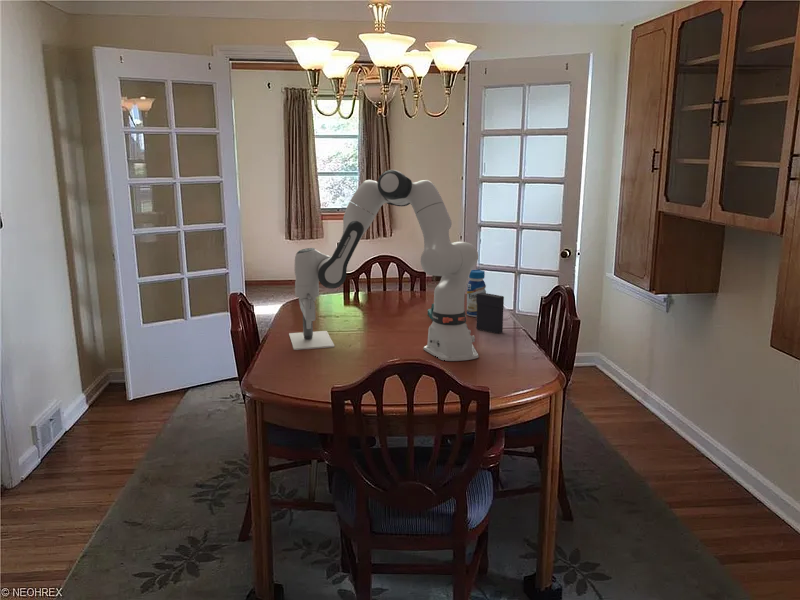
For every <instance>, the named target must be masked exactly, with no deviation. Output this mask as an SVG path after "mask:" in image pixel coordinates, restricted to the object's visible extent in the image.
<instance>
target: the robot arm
mask: <svg viewBox="0 0 800 600" xmlns="http://www.w3.org/2000/svg"><path fill="white" fill-rule="evenodd" d="M384 204H387V205H391V206H396V207H407V206H409V205H411V207H412V208H413V213H414V214H415V217H416V219H417V221H418V225H419V227H420V230H421V232H422V236H423V244H424V245H423V252H422V253H421V255H420V266H421V269H422V270H423V272H424V273H426V274H427V275H429V276H434V277H441V278H440V280H439V282H438V284H436V286H435V288H434V291H433V295H434V296H433V304H434V310H433V314H432V320H433V321H432V320H431V321H432V323H431V324H430V325H429V327H428V331H427V333H428V334H427V344H426V345H424V346H423V351H425V352H427V353H428V354H430V355H432V356H434V357H435V356H436V357H435V358H437V357H438V358H437V359H439V360H441V361H444V360H445V361H446V362H459V361H469V360H476V359H478V358H480V357H479V353H478V351H477V350H476V348H475V346H474V345H473V343H475V341H476V337H475V335H471V333H472V331H471V329H469V327H468V324H467V323H466V322H467V313H466V310H465V299H466V298H465V297H466V290H467V289H466V288H467V285H468V282H469V279H470V278H469V275H470V272H471V270H473V269H474V267H475V265H477V263H478V260H479V252H478V250H477V248H476V246H475V245H474V244H473V243H470V242H467V241H455V242H452V241H451V240H450V229H451V227H452V219H451V217H450V215H449V212H448V209H447V208H446V205H445V202H444V200H443V198H442V196H441V194H440V192H439V191H438V189H437V187H436V186H435V184H434V183H433V182H432V181H430V180H429V179H423V180H418V181H415V182H412V180H411V179H410V178H409V177H408V176H407V175H405V174H404V173H402V172H401V171H400V170H397V169H389V170H386V171H384V172H382V173H381V175H379V178H378V180H377V181H376V180H372V179H366V180H363V182H362V183H361V184H360V185H359V186H358V188H357V189H356V191H355V192H354V193H353V195H352V197H351V199H350V200H349V202H348V205H347V206H346V207H345V208H346V209H345V212H344V214H343V216H342V217H343V218H342V221H343V223H342V224H343V225H342V226H343V227H342V233H341V237H340V240H339V241H338V243H337V245H336V248H335V249H334V252H333V254H332V255H328V254H326V253H323V252H320V251H319V250H317V249H316V248H315V247H309V248H303V249H300V250H298V251H297V252H296V254H295V256H294V275H295V282H294V293H295V294H294V296H295V297H296V298H298V303H299V307H300V311H301V313H302V316H303V315H304V318H305V320H306V328H307V329H311V323H312V321H313V322H314V321H316V303H315V301H316V298H317V297H319V296H320V291H319V290H320V284H321V286H323V287H324V288H326V289H332V290H333V289H337V288H340V287H341V286H342V285H343V284H344V283H345V281H346V279H347V272H348V271H347V269H348V264H349V262H350V260H351V258H352V257H353V255H354V252H355V250H356V248H357V246H358V244H359V242H360V240H361V239H362V238H363V236H364V235H365V233H366V232H367V230H368V229H369V228H370V226H371V225H372V223H373V221H374V220H375V218H376V216H377V214H378V212H379V210H380V209H381V208H382V206H383V205H384ZM319 283H320V284H319ZM302 308H303V309H302ZM309 308H310V309H309Z"/></svg>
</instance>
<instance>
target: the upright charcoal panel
mask: <svg viewBox="0 0 800 600" xmlns="http://www.w3.org/2000/svg"><path fill="white" fill-rule="evenodd" d="M504 300H505V297H504V296H503V295H497V294H492V293H488V292H486V293H478V294H477V296H476V303H477V317H476V327H475V328H476V330H479V331H483V330H484V331H483V332H489V333H493V334H496V335H497V334H501V333H503V329H504V327H503V326H504Z"/></svg>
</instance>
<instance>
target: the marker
mask: <svg viewBox="0 0 800 600" xmlns="http://www.w3.org/2000/svg"><path fill="white" fill-rule="evenodd" d="M302 309H303V308H302ZM309 309H310V308H309ZM313 323H314V321H312V323H311V329H307V328H306V320H305V318H304V315H303V314H302V330H303V331H302V332H303V336H304V339H312V335H313V332H314V328H313V327H314V325H313Z"/></svg>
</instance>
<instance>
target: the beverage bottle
mask: <svg viewBox="0 0 800 600" xmlns="http://www.w3.org/2000/svg"><path fill="white" fill-rule="evenodd" d="M485 275H486V274H485V270H483V269H472V270H471V272H470V275H469V278H468V279H469V280H468V281H467V285H466V288H467V289H466V316H469V317H475V318H477V303H476V296H477V294H478V293H487V291H486V288H487V284H486V282H485V281H484V279H485Z"/></svg>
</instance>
